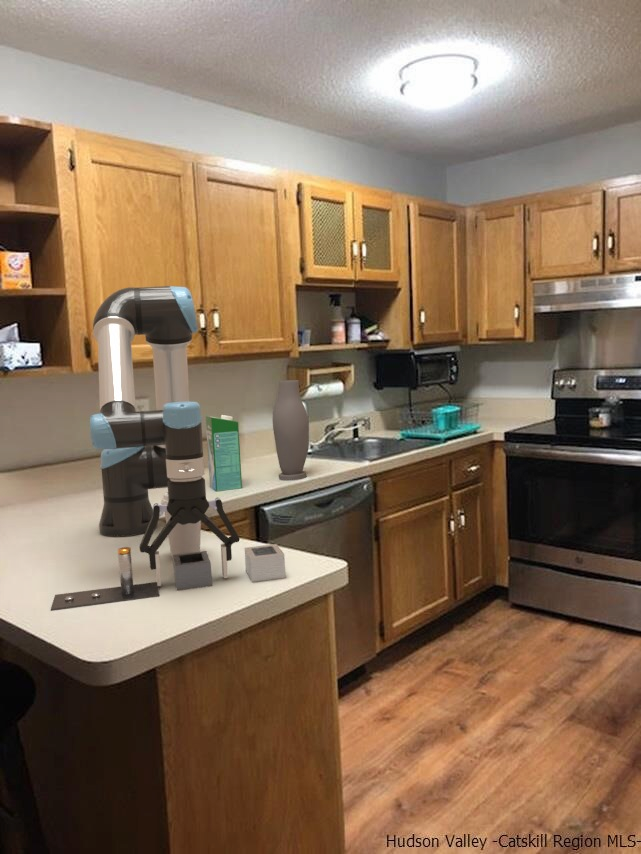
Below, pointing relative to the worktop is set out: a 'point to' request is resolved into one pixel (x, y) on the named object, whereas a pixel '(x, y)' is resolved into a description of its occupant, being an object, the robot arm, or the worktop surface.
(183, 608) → the worktop surface
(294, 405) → the vase
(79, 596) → the keeper
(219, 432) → the milk carton
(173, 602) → the worktop surface
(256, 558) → the link
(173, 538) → the coffee cup
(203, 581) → the grey hollow block
